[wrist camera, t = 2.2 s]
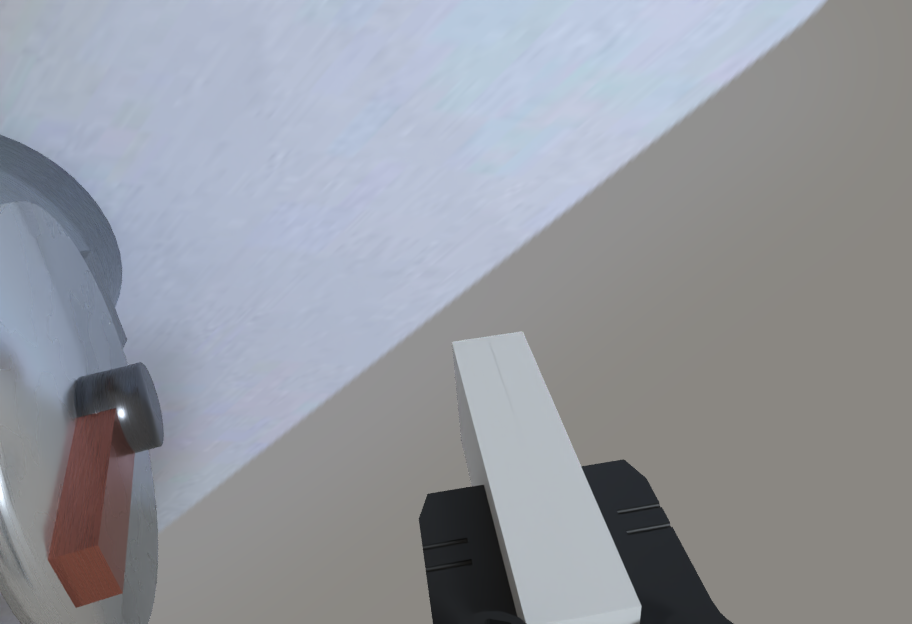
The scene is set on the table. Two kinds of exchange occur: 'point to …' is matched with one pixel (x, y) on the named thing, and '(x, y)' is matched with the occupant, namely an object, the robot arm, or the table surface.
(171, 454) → the table surface
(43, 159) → the pot
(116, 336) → the lid
